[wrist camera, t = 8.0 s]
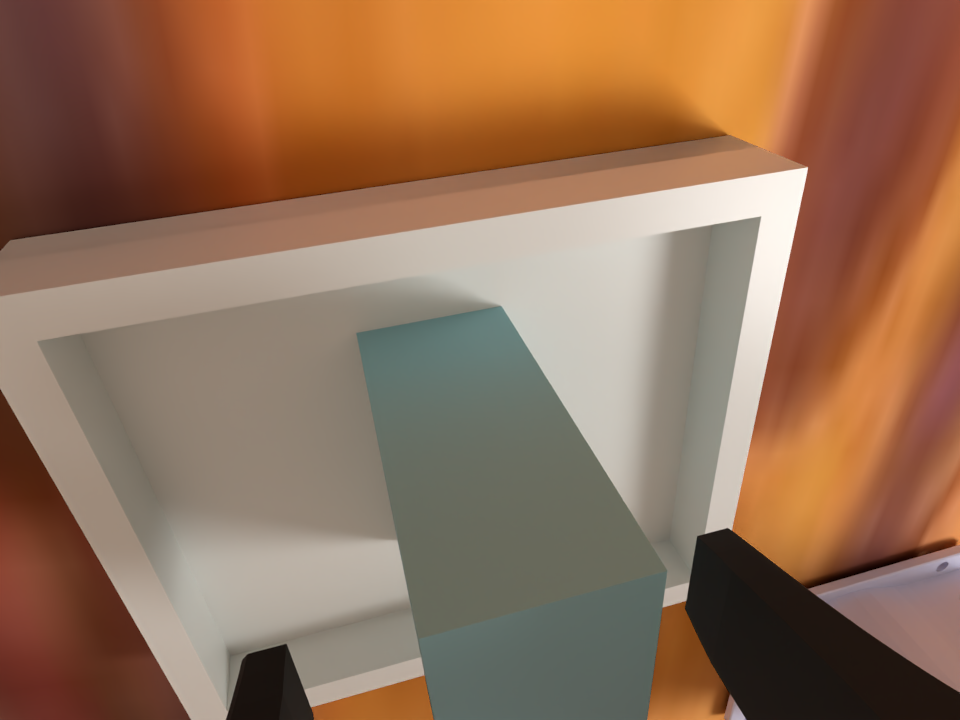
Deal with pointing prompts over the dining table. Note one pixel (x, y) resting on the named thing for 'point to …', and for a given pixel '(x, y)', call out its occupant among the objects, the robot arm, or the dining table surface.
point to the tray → (343, 391)
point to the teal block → (508, 530)
